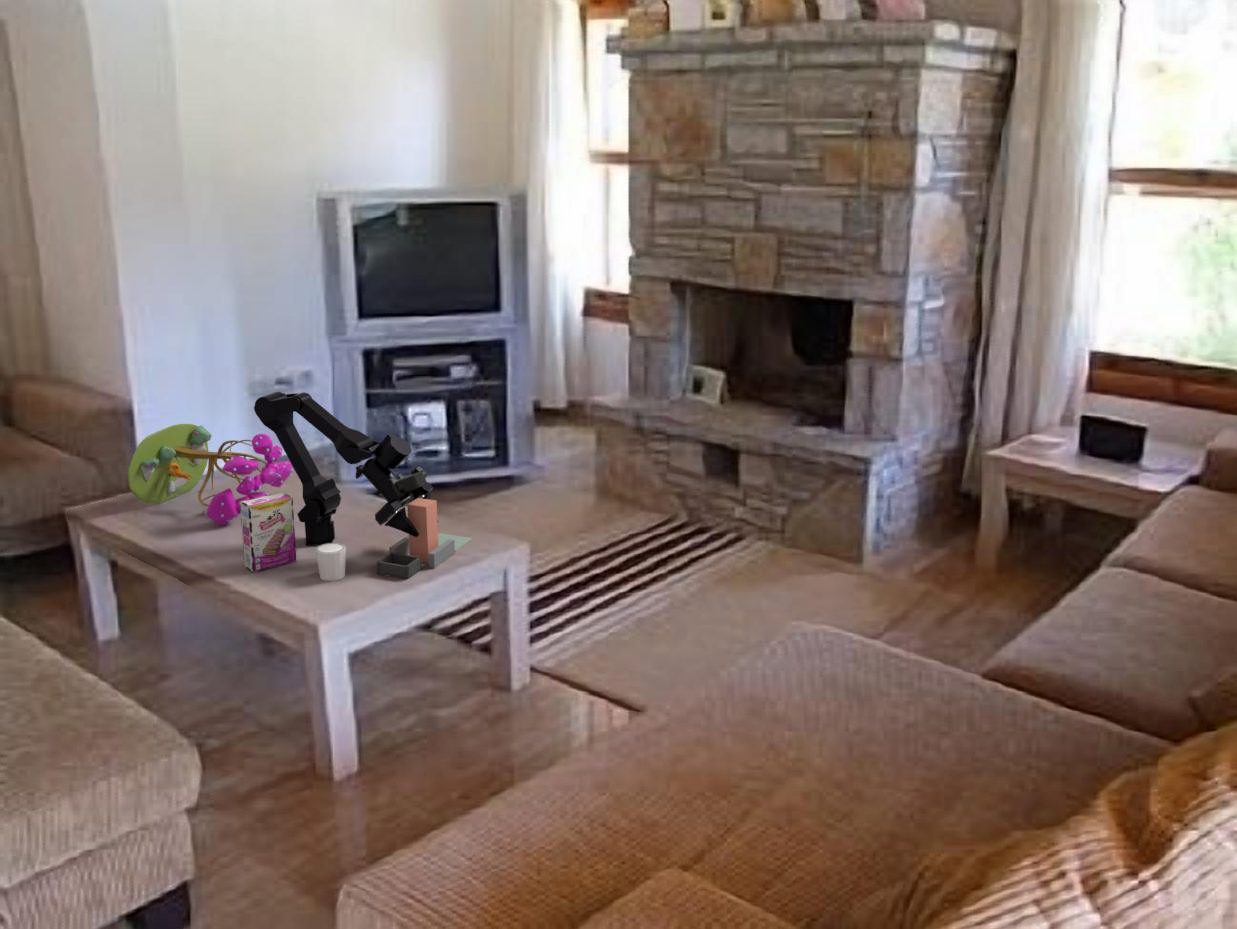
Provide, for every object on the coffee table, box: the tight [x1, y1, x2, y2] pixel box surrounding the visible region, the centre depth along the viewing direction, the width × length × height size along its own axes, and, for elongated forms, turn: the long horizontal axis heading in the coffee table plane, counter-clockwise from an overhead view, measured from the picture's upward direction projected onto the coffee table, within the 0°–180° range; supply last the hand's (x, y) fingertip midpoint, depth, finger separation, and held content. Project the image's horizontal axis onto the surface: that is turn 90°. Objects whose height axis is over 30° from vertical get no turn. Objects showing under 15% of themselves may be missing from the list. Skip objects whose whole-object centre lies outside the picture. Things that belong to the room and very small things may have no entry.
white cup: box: [314, 542, 347, 582], centre depth 265 cm, size 7×7×7 cm
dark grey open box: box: [376, 553, 423, 580], centre depth 269 cm, size 8×6×3 cm
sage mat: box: [438, 532, 474, 552], centre depth 287 cm, size 10×9×1 cm
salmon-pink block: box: [406, 498, 439, 564], centre depth 276 cm, size 5×5×14 cm
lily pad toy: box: [127, 423, 295, 526], centre depth 307 cm, size 30×28×35 cm
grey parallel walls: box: [388, 534, 456, 569], centre depth 277 cm, size 12×10×4 cm
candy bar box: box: [240, 492, 297, 573], centre depth 270 cm, size 11×5×16 cm, turn 133°
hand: (427, 529), depth 275 cm, fingers open, 9 cm apart
